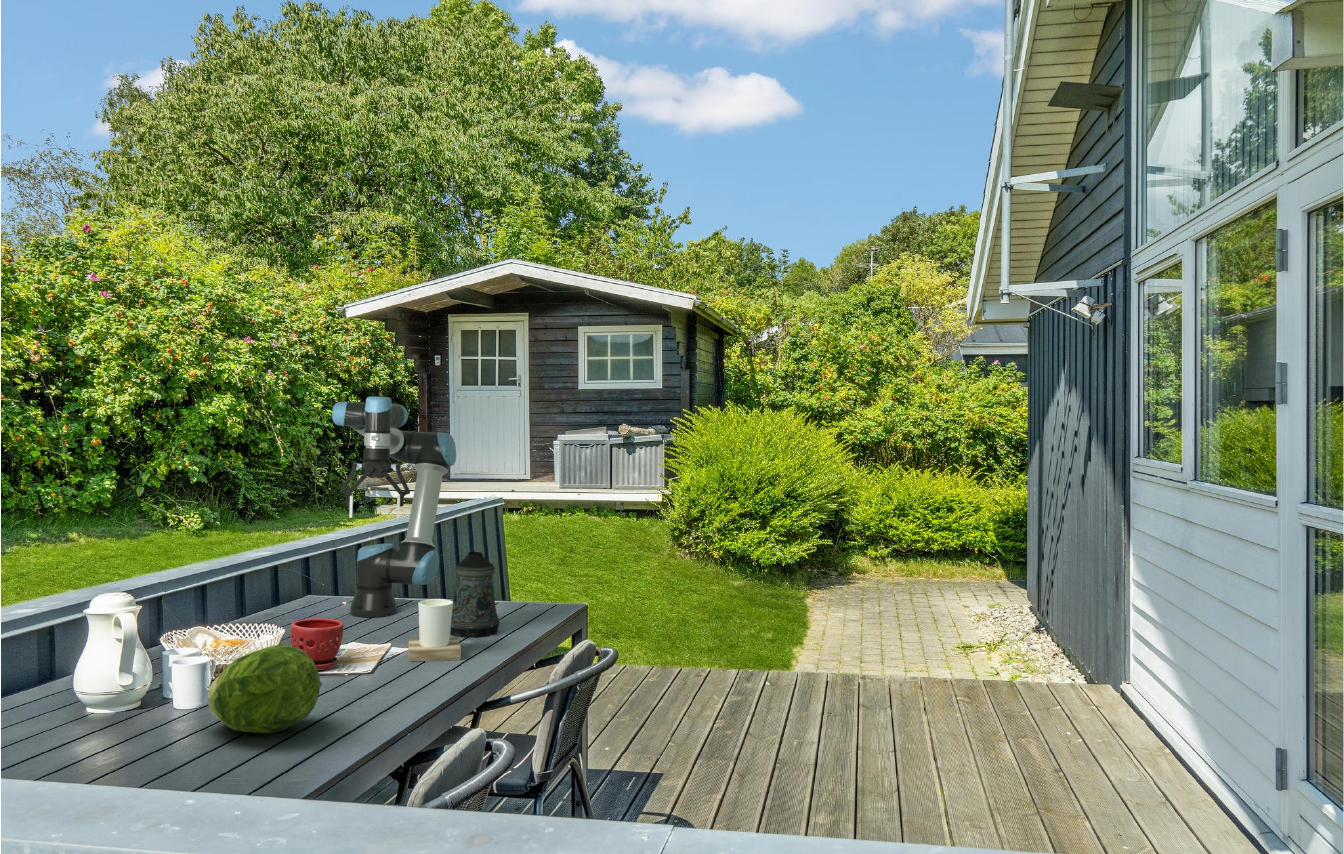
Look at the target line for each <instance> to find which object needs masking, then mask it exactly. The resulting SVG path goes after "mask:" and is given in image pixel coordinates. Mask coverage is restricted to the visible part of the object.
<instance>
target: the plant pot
mask: <svg viewBox="0 0 1344 854" xmlns="http://www.w3.org/2000/svg"><path fill="white" fill-rule="evenodd" d="M343 635H344V623H343V621H340V620H336V619H331V618H305V619H301V620H299V619H298V620H296V621H293V622H292V623H291V625H290V646H292V647H296V648H300V649H301V650H303V651H304V652H305V653H307V654H308V655H309V656H310V657H311V659H312V660H313V661H314V664H315V666H316V668H317V671H318V672H319V671H325V670H328V669H331V668H333V667H335V666H336V664H337V663H338V657H337V654H338V652H339V651H340V648H341V645H342V640H343Z"/></svg>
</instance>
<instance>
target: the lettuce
mask: <svg viewBox="0 0 1344 854" xmlns="http://www.w3.org/2000/svg"><path fill="white" fill-rule="evenodd" d="M320 690H321V679H320V673H319V671H317V668H316V666H315V664H314V661H313V660H312V659H311V657H310V656H309V655H308V654H307V653H305V652H304V651H303V650H301V649H300V648H296V647H292V646H291V645H285V644H277V645H270V646H268V647H264V648H260V649H258V650H255V651H252V652H250V653H248V654H244V655H243V656H240V657H239V658H238V659H235V660H233V661H231V663H230V664H229V665H228V666H227V667H225V668H224V670H223V671H222V672H221V673H220V674H219V675H218V676H217V677H216V678H215V680H214V681H213V682H212V683H211V684H210V688H209V690H208V692H207V704H208V707H209V709H210V712H211V714H212V715H214V717H216V718H217V719H218V720H219V721H221V722H222V723H223V725H225V726H226V727H227V728H230V729H232V730H233V731H238V732H239V731H240V732H245V733H252V732H253V733H254V734H256V733H257V734H263V735H265V734H267V735H270V734H269V733H271V734H274V733H275V734H276V733H279V732H282V731H284V730H286V729H289V728H292V726H294V725H296V724H297V723H299V722H301V721H303V720H305V719H307V718H308V717H309V716H310V714H311V712H313V710H314V708H315V707H316V704H317V701H318V698H319V696H320Z"/></svg>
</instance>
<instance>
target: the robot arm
mask: <svg viewBox="0 0 1344 854" xmlns="http://www.w3.org/2000/svg"><path fill="white" fill-rule="evenodd" d="M331 418H332V421H333V423H334V424H335V425H337V426H342V427H349V428H351V429H352V430H354V431H356V432H357V433H359V434H360V435H362V437H364V438H363V440H364V441H363V443H364V444H363V445H364V447H365V448H364V449H363V462H362V463H356V462H353V463H352V466H351V470H350V473H349V474H348V475H347V478H346V479H345V481H344V483H343V485H342V486H341V488H340V489H339V493H340V494H342V495H345V506H346V507H349V515H348V516H349V518H350V519H351V518H352V519H353V510H354V509H353V508H354V507H353V506H354V495H353V492H354V491H355V490H356V489H357V488H358V487H359V486H360V485H361V484H362V483H363V482H364V481H365V479H366V478H370V479H375V478H377V479H383V478H385V480H387V481H388V483H389V484H390V485H391V487H392V488H393V489H394V490H395V492H397V493H398V494H399V495H397V496H396V497H397V498H396V500H397V501H396V519H400V508H401V507H402V508H403V507H404V505H405V496H407V495H410V494H411V491H410V488H409V486H408V483H407V482H406V480H405V478H404V475H403V473H402V472H401V465H400V463H404V464H408V465H414V466H413V467H414V469H415V470H416V472H417V474H416V479H415V480H416V481H415V484H414V485H415V486H414V491H413V496H412V504H411V509H410V514H409V519H408V525H407V531H406V537H405V538H404V540H402V541H401V542H400V544H399V548H395V545H394V544H393V543H379V544H371V545H366V546H362V547H361V548H359V549H358V550H357V559H356V586H355V587H356V591H355V594H354V595H353V598H352V601H351V603H350V605H349V608H350V609H349V610H350V611H349V614H350V615H351V616H354V617H355V616H356V617H361V618H381V617H382V618H383V617H387V616H392V615H395V614H396V613H397V609H398V605H397V602H396V599H395V595H394V591H393V584H402V585H413V586H419V585H420V586H421V585H428V584H430V583H432V582H433V581H434V579H435V577H436V576H437V573H438V570H439V565H440V555H439V553H438V550H437V551H436V546H435V544H434V543H433V536H434V529H435V522H436V518H437V511H438V507H439V499H440V494H441V489H442V488H441V487H442V483H443V482H442V479H443V476H444V475H446V474H447V473H448V471H449V467H452V466H454V465H455V463H456V460H457V446H456V441H455V439H454V437H453V435H451V434H450V433H448V432H440V431H437V432H434V431H415V430H414V431H413V430H412V431H410V430H400V429H398V428H401V427H402V426H404V425H405V424H406V423H407V422H408V418H409V413H408V410H407V408H405V406H403V405H402V404H399V403H393V401H392V398H391V397H388V396H367V398H366V399H365V402H355V401H338V402H336V403H335V404H334V405H333V407H332V411H331ZM390 458H391V459H393V460H395V461H397V462H400V463H396V464H391V462H390V461H391V459H390ZM360 469H362V470H363V472H364V473H363V474H362V475H361V476H360V478H359V479H357V480H356V482H355V483H354V484H353V485H352V486H351V487H350V488H349V489H348V490H347V487H348V485H349V484H350V483H351V481H352V479H353V477H354V475H355V474H356V471H359V470H360ZM391 469H393V471H394V472H396V475H397V476H398V479H399V481H400V483H401V485H402V487H403V489H404V490H402V489H401V487H400V486H399V485H398V483H396V482H395V481H394V479H393V478H392V477H391V475H390V474H389V472H390V470H391ZM351 494H352V495H351Z"/></svg>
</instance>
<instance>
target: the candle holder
mask: <svg viewBox="0 0 1344 854" xmlns="http://www.w3.org/2000/svg"><path fill="white" fill-rule="evenodd" d="M417 606H418V607H417V608H418V639H419V644H420V645H421V646H423V647H430V648H436V647H444V646H447V645H448V644H449V641H450V638H451V635H450V632H451V621H452V610H453V600H450V599H445V598H430V599H428V598H427V599H423V600H419V601H418V602H417Z"/></svg>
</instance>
